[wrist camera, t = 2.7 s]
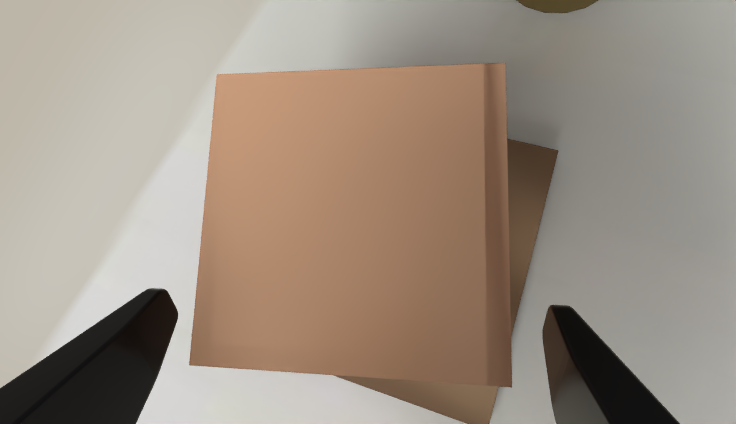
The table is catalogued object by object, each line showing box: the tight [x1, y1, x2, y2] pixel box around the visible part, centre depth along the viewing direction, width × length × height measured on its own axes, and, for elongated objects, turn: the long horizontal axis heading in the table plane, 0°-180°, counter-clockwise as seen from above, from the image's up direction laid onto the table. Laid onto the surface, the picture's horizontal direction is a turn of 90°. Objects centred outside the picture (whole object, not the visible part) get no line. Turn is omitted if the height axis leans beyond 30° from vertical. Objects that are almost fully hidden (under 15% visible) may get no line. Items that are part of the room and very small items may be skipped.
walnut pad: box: [334, 139, 558, 424], centre depth 19 cm, size 12×12×1 cm
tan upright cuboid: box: [189, 63, 512, 387], centre depth 14 cm, size 7×7×9 cm
